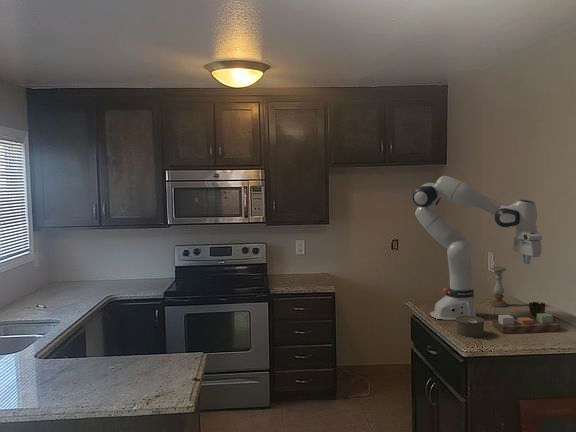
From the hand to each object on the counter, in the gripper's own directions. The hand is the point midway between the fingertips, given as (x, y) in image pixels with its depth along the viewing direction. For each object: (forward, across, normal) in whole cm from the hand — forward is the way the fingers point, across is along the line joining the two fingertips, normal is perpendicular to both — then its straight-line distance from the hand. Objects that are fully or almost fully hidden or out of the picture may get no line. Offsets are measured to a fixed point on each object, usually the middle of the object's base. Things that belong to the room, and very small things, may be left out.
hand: (526, 263), depth 250 cm
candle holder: (+29, -38, +3) cm, 48 cm away
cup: (+29, -8, +9) cm, 32 cm away
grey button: (+26, +6, -12) cm, 30 cm away
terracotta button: (+28, +6, -4) cm, 29 cm away
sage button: (+26, +6, +6) cm, 28 cm away
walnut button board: (+29, +6, -4) cm, 30 cm away
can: (+29, +10, -31) cm, 44 cm away
